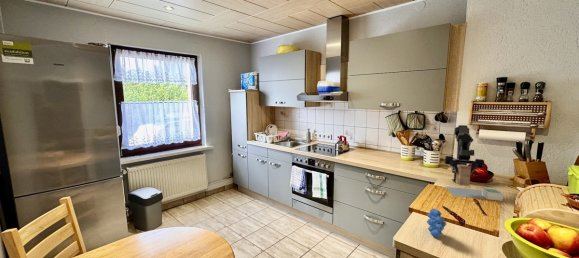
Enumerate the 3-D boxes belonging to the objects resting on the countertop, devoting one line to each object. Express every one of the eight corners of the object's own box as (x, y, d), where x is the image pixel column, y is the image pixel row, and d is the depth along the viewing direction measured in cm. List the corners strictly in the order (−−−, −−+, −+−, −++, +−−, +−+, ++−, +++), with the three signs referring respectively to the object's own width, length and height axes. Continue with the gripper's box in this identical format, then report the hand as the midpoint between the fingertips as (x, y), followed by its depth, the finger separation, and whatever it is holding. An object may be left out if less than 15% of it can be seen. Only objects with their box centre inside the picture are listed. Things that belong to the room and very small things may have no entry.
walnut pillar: (455, 182, 145) (457, 164, 143) (465, 182, 143) (466, 164, 142) (459, 185, 140) (460, 166, 138) (469, 185, 139) (470, 167, 137)
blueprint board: (444, 187, 156) (445, 180, 155) (488, 191, 149) (489, 184, 149) (453, 196, 141) (454, 189, 140) (503, 201, 134) (504, 193, 133)
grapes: (452, 246, 93) (454, 216, 92) (433, 244, 95) (435, 215, 93) (439, 230, 105) (441, 203, 103) (422, 228, 106) (424, 202, 104)
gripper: (446, 142, 147) (445, 164, 139) (485, 145, 137) (486, 169, 129) (445, 152, 154) (444, 174, 147) (482, 156, 145) (483, 179, 137)
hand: (463, 174), depth 140 cm, fingers closed on walnut pillar, 6 cm apart
